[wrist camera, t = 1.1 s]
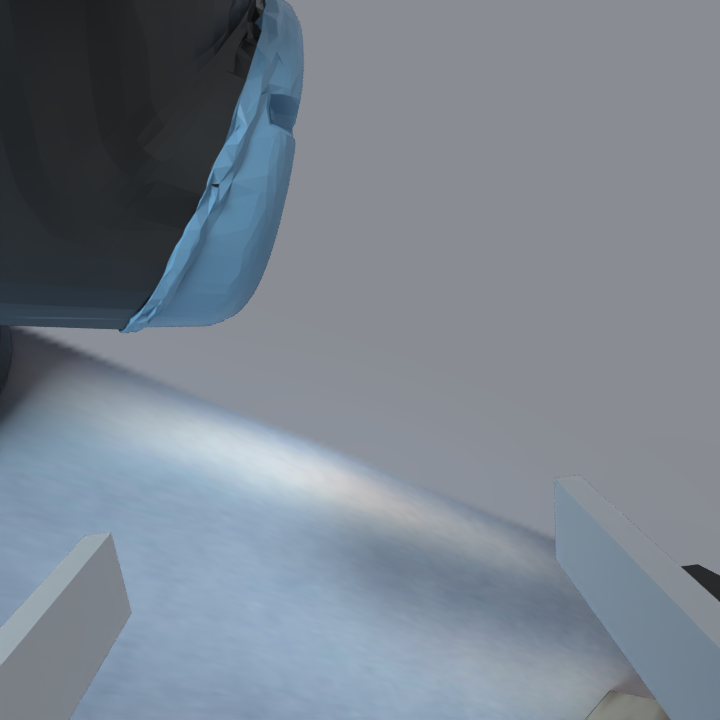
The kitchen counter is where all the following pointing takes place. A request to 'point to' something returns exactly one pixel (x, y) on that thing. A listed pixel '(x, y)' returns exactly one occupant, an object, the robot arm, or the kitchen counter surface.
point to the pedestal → (627, 708)
